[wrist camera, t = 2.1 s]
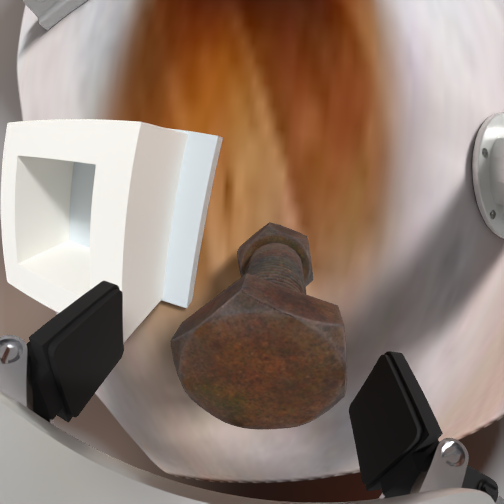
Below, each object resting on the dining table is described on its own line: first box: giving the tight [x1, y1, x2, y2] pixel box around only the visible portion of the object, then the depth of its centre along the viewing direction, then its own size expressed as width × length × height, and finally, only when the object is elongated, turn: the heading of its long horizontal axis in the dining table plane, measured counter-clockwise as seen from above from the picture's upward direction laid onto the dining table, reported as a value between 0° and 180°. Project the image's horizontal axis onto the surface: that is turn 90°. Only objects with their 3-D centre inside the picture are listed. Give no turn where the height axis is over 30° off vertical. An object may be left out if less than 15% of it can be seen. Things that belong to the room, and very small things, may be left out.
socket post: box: [1, 119, 223, 343], centre depth 18 cm, size 18×14×8 cm
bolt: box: [171, 223, 347, 429], centre depth 14 cm, size 6×5×15 cm
